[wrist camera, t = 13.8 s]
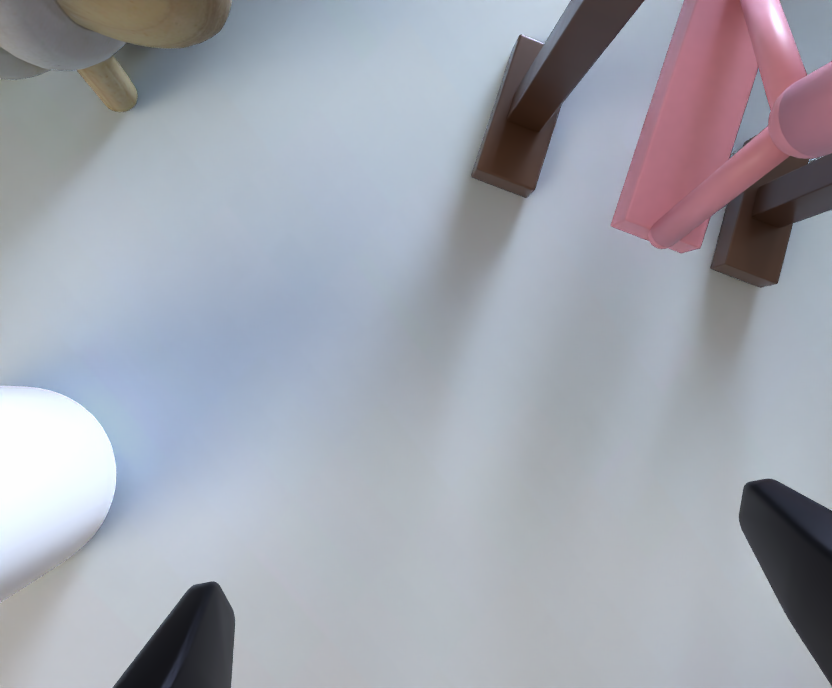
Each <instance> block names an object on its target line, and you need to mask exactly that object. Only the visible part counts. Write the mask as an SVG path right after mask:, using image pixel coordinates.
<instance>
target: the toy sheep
mask: <svg viewBox="0 0 832 688" xmlns="http://www.w3.org/2000/svg"><path fill="white" fill-rule="evenodd" d="M231 4H232V0H0V79H10V80H17V79H24V78H30V77H34V76H37V75H40V74H42V73H45V72H47V71H49V70H51V69H52V70H59V71H73V70H77V71H78V73H79V74H80V75H81V76H82V77H83V79H84V80H85V81H86V82H87V83H88V85H89V86H90V87H91V88H92V89H93V91H94V92H95V93H96V94H97V96H98V97H99V98H100V99H101V100H102V102H103V103H104V104H105V105H106V106H107V107H108V108H109V109H111V110H113V111H116V112H126V111H128V110H130V109H132V108H133V107H134V106H135V105H136V102H137V97H138V96H137V90H136V88H135V86H134V85H133V83H132V81H131V80H130V78H129V77H128V75H127V74H126V73H125V71H124V70H123V68H122V67H121V66H120V64H119V63H118V61H117V60H116V58H115V57H114V56H113V54H114V53H116V52H117V51H118V50H119V49H120V48H121V47H123V46H124V45H125V44H126V43H131V44H135V45H140V46H146V47H153V48H184V47H189V46H192V45H195V44H199V43H202V42H204V41H206V40H208V39H210V38H212V37H213V36H214V35H216V34H217V33H218V32H219V31H220V30H221V29H222V28H223V26H224V24H225V22H226V20H227V18H228V15H229V12H230V9H231Z"/></svg>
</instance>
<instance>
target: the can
mask: <svg viewBox="0 0 832 688" xmlns="http://www.w3.org/2000/svg"><path fill="white" fill-rule="evenodd" d="M115 487H116V462H115V457H114V452H113V449H112V446H111V443H110V441H109V439H108V437H107V435H106V433H105V431H104V429H103V428H102V426H101V425H100V424H99V422H98V421H97V420H96V419H95V417H94V416H93V415H92V414H91V413H90V412H89V411H87V410H86V409H85V408H84V407H83V406H81V405H80V404H78V403H77V402H75V401H74V400H72V399H70V398H68V397H66V396H64V395H62V394H59V393H57V392H54V391H50V390H46V389H41V388H36V387H26V386H0V603H1V602H3V601H4V600H6V599H7V598H9V597H10V596H12V595H13V594H15V593H17V592H18V591H20V590H21V589H23V588H24V587H26V586H27V585H29V584H30V583H32V582H34V581H35V580H37V579H38V578H40V577H41V576H43V575H44V574H46V573H47V572H49V571H50V570H52V569H53V568H55V567H56V566H58V565H59V564H61V563H62V562H64V561H65V560H67V559H68V558H70V557H71V556H72V555H74V554H75V553H76V552H77V551H79V550H80V549H81V548H82V547H83V546H84V545H85V544H86V543H87V542H88V541H89V540H90V539H91V538H92V537H93V536H94V534H95V533H96V532H97V531H98V529H99V528H100V526H101V525H102V523H103V521H104V520H105V518H106V516H107V514H108V511H109V509H110V506H111V504H112V500H113V497H114V493H115Z"/></svg>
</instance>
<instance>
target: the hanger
mask: <svg viewBox="0 0 832 688" xmlns="http://www.w3.org/2000/svg"><path fill="white" fill-rule="evenodd" d="M758 67H759V71H760V74H761V78H762V81H763V85H764V89H765V92H766V96H767V99H768V103H769V106H770V110H771V112H770V115H769V120H768V126H767V127H766V128H765V129H764V130H762V131H761V132H760V133H759V134H758V135H757V136H755V137H754V138H753V139H752V140H751V141H750V142H749V143H747V144H746V145H745V146H744V147H743V148H742V149H740V150H739V151H738V152H737V153H736V154H735V155H733V156H732V157H731V158H730V155H731V152H732V148H733V145H734V142H735V139H736V136H737V133H738V130H739V127H740V124H741V120H742V117H743V114H744V111H745V108H746V105H747V102H748V99H749V96H750V92H751V89H752V86H753V83H754V80H755V77H756V74H757V71H758ZM831 153H832V61H831V62H829V63H828V64H826V65H824V66H822V67H821V68H819V69H817V70H816V71H814V72H812V73H810V74H809V75H807V73H806V70H805V68H804V65H803V62H802V60H801V57H800V54H799V51H798V49H797V46H796V43H795V41H794V38H793V35H792V33H791V30H790V27H789V25H788V22H787V19H786V17H785V14H784V11H783V8H782V6H781V3H780V0H684V2H683V5H682V8H681V11H680V14H679V18H678V21H677V24H676V27H675V30H674V33H673V36H672V39H671V42H670V45H669V48H668V51H667V54H666V57H665V60H664V63H663V67H662V70H661V73H660V76H659V79H658V82H657V85H656V88H655V91H654V94H653V97H652V100H651V103H650V106H649V109H648V112H647V115H646V119H645V122H644V125H643V128H642V131H641V134H640V137H639V140H638V143H637V146H636V149H635V152H634V155H633V158H632V161H631V164H630V168H629V171H628V174H627V177H626V180H625V183H624V186H623V189H622V192H621V195H620V198H619V201H618V204H617V207H616V210H615V213H614V216H613V220H612V223H611V226H612V227H614V228H616V229H619V230H622V231H624V232H627V233H629V234H632V235H635V236H637V237H640V238H643V239H645V240H648V241H650V243H651V244H652V245H653V246H654V247H656V248H659V249H666V248H669V249H671V250H674V251H677V252H679V253H684V252H688V251H692V250H696V249H700V247H701V245H702V242H703V239H704V236H705V233H706V229H707V226H708V223H709V220H710V217H711V216H712V215H713V214H715V213H716V212H717V211H719V210H720V209H721V208H723V207H724V206H725V205H727V204H728V203H729V202H730V201H732V200H733V199H734V198H736V197H737V196H738V195H740V194H741V193H742V192H744V191H745V190H746V189H747V188H749V187H750V186H751V185H753V184H754V183H755V182H757V181H758V180H759V179H761V178H762V177H763V176H764V175H766V174H767V173H768V172H770V171H771V170H772V169H774V168H775V167H776V166H778V165H779V164H780V163H781V162H783V161H784V160H785V159H787V158H788V157H789V156H793V157H796V158H802V159H812V158H818V157H822V156H825V155H828V154H831ZM729 158H730V159H729Z"/></svg>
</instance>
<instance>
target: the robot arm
mask: <svg viewBox="0 0 832 688" xmlns="http://www.w3.org/2000/svg"><path fill="white" fill-rule="evenodd" d="M739 522H740V526H741V529H742V531H743V533H744V535H745V537H746V539H747V541H748V543H749V545H750V546H751V548H752V550H753V552H754V554H755V556H756V558H757V560H758V562H759V564H760V566H761V568H762V570H763V572H764V574H765V575H766V577H767V579H768V581H769V583H770V585H771V587H772V589H773V591H774V593H775V595H776V597H777V599H778V601H779V603H780V604H781V606H782V608H783V610H784V612H785V613H786V615H787V617H788V619H789V620H790V622H791V624H792V625H793V627H794V628H795V630H796V632H797V633H798V635H799V636H800V638H801V639H802V641H803V642H804V644H805V646H806V647H807V649H808V650H809V652H810V653H811V655H812V656H813V658H814V659H815V661H816V662H817V664H818V665H819V667H820V669H821V670H822V672H823V673H824V675H825V676H826V678H827V679H828V681H829V682H830V684H831V685H832V511H831V510H829V509H828V508H826V507H824V506H822V505H820V504H818V503H817V502H815V501H813V500H811V499H809V498H807V497H806V496H804V495H802V494H800V493H798V492H796V491H795V490H793V489H791V488H789V487H787V486H785V485H784V484H782V483H780V482H778V481H776V480H773V479H762V480H757V481H751V482H748V483H746V485H745V486H744V488H743V494H742V500H741V506H740V512H739ZM234 632H235V616H234V612H233V609H232V607H231V605H230V603H229V602H228V600H227V598H226V596H225V594H224V592H223V591H222V589H221V587H220V585H219V584H218V583H216V582H207V583H202V584H196V585H193V586H192V587H191V588H189V589H188V590H187V592H186V593H185V594H184V596H183V597H182V598H181V599H180V601H179V602H178V603H177V605H176V606H175V607H174V609H173V610H172V611H171V612H170V614H169V615H168V616H167V618H166V619H165V620H164V622H163V623H162V624H161V625H160V627H159V628H158V629H157V631H156V632H155V633H154V635H153V636H152V637H151V638H150V640H149V641H148V642H147V644H146V645H145V646H144V648H143V649H142V650H141V651H140V653H139V654H138V655H137V657H136V658H135V659H134V661H133V662H132V663H131V664H130V666H129V667H128V668H127V670H126V671H125V672H124V673H123V675H122V676H121V677H120V679H119V680H118V681H117V683H116V684H115V685H114V686H113V688H231V678H232V663H233V647H234Z"/></svg>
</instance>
